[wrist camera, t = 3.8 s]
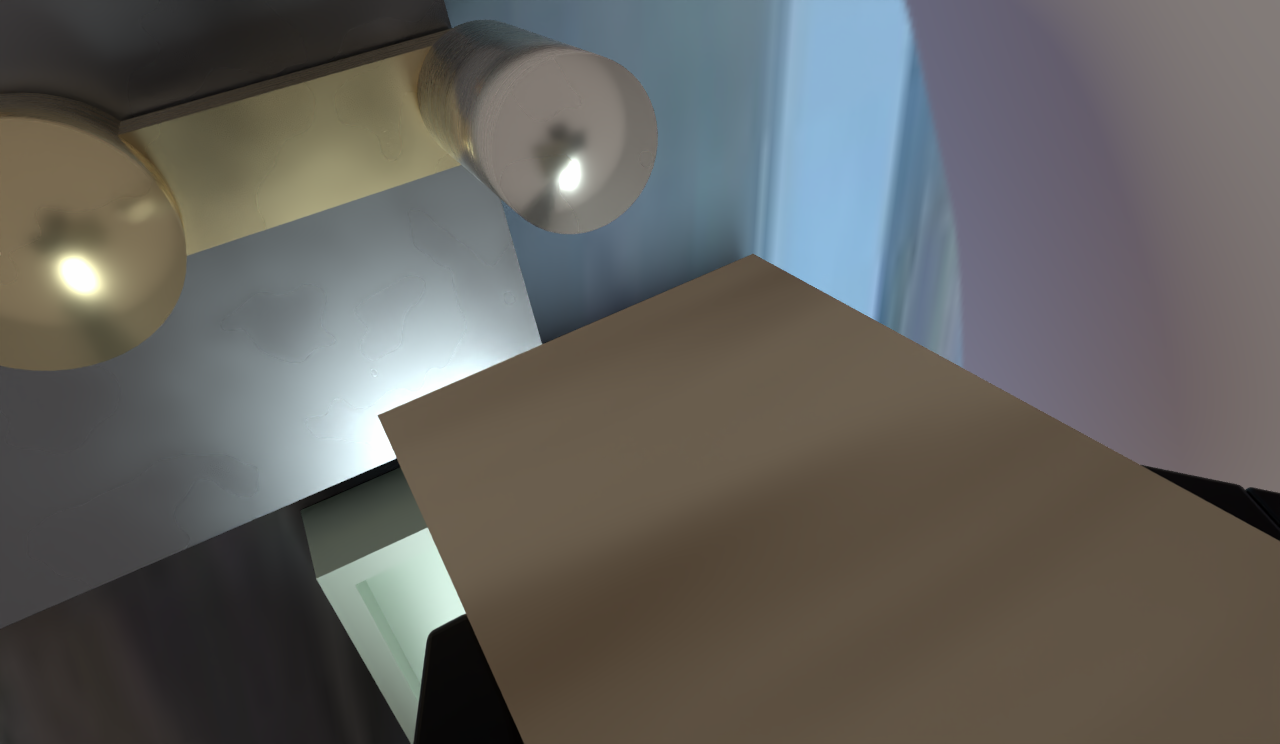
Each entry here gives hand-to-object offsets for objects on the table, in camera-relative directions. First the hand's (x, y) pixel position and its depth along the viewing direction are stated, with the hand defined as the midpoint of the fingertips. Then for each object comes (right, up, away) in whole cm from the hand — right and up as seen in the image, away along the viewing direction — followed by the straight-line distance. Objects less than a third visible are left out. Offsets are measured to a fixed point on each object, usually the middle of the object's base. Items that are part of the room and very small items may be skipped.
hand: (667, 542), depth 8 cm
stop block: (0, 0, +1) cm, 1 cm away
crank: (-7, +5, +6) cm, 10 cm away
